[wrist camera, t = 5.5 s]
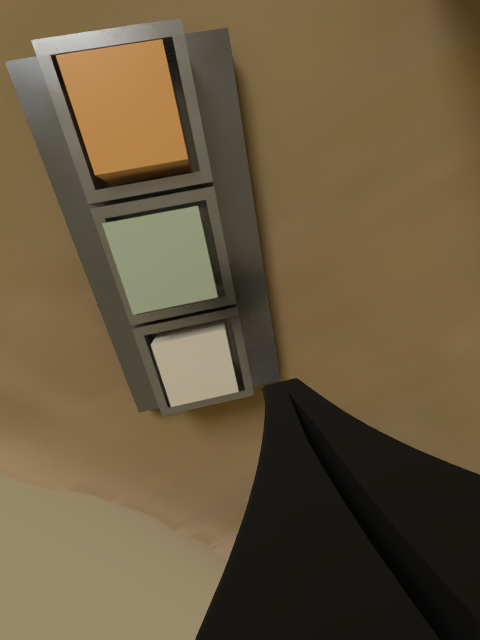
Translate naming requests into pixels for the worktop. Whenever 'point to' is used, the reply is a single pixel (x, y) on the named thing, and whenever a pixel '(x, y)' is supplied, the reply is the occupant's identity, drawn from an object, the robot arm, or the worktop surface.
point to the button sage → (162, 259)
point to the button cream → (195, 362)
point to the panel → (162, 202)
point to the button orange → (126, 111)
